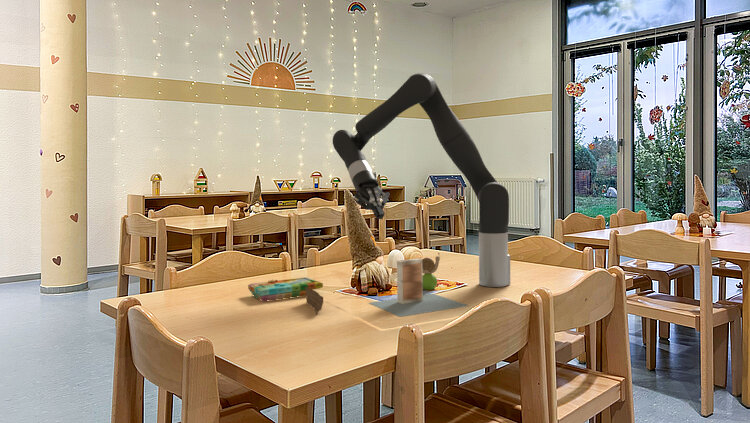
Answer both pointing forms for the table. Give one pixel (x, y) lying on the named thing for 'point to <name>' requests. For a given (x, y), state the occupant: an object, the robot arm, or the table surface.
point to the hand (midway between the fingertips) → (381, 217)
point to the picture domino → (409, 280)
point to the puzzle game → (283, 288)
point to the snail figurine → (429, 273)
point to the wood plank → (314, 299)
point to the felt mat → (418, 305)
